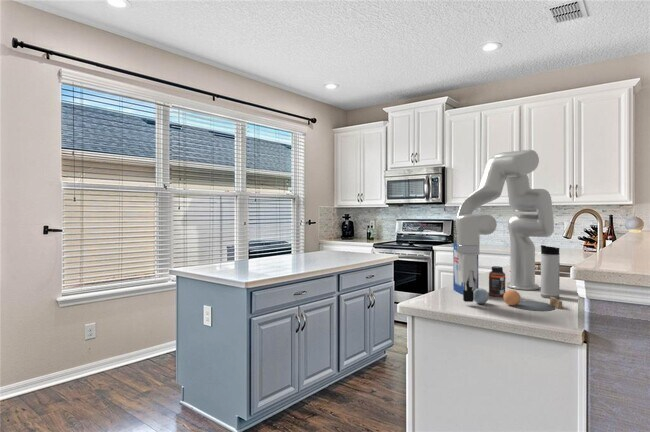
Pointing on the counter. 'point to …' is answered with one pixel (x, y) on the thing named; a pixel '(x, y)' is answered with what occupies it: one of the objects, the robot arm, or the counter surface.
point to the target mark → (534, 306)
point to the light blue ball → (480, 296)
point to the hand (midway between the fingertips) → (468, 301)
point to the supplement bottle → (497, 281)
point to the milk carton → (456, 282)
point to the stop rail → (556, 302)
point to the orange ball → (511, 297)
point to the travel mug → (550, 271)
